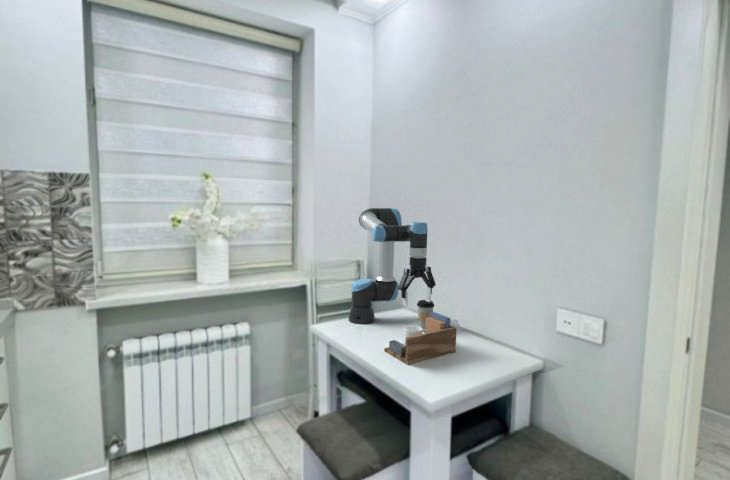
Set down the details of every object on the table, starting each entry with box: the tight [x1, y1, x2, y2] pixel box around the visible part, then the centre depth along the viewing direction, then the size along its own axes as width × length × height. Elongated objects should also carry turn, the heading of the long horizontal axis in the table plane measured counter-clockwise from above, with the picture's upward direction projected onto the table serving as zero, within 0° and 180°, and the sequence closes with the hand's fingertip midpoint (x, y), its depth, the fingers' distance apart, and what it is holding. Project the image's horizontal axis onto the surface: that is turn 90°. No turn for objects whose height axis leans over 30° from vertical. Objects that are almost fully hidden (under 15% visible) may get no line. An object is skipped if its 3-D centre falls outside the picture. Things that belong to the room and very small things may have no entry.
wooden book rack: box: [383, 324, 457, 366], centre depth 178 cm, size 17×28×12 cm, turn 122°
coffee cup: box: [416, 299, 435, 329], centre depth 210 cm, size 9×9×15 cm
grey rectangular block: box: [388, 339, 406, 357], centre depth 173 cm, size 9×3×4 cm, turn 32°
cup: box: [403, 324, 427, 346], centre depth 177 cm, size 8×12×10 cm
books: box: [425, 311, 451, 333], centre depth 183 cm, size 11×6×14 cm, turn 32°
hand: (416, 303), depth 176 cm, fingers open, 13 cm apart
